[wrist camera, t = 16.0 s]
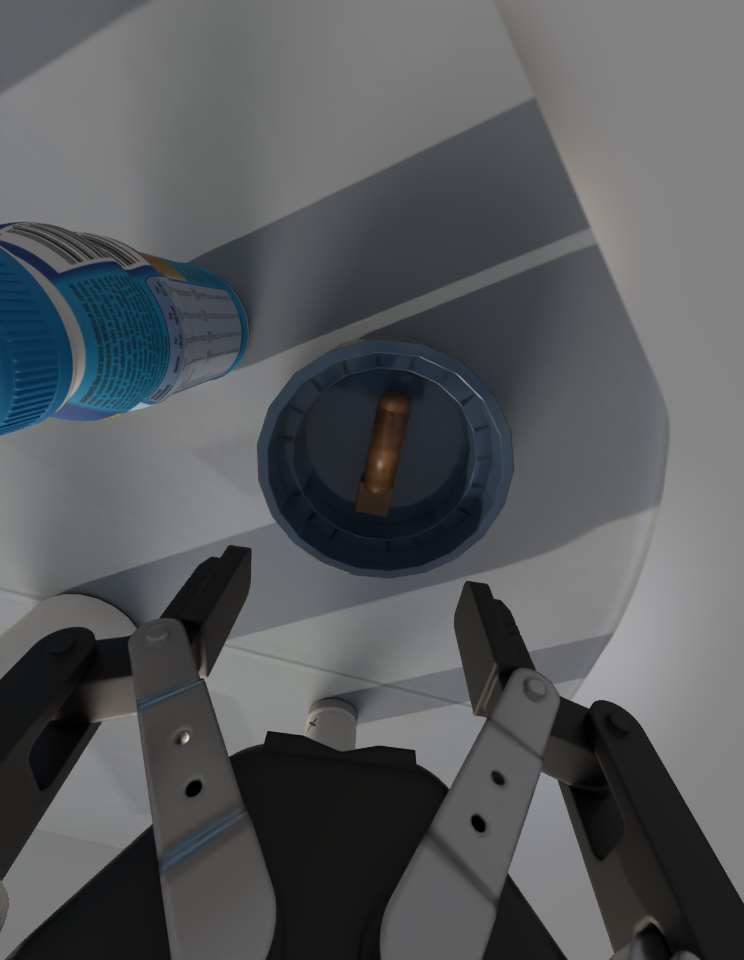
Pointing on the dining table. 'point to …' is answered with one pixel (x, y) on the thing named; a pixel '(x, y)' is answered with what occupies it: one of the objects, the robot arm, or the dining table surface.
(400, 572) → the bowl
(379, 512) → the brown rounded bar
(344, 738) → the travel mug
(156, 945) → the robot arm
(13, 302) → the beverage bottle
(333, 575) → the dining table surface
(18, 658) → the can
